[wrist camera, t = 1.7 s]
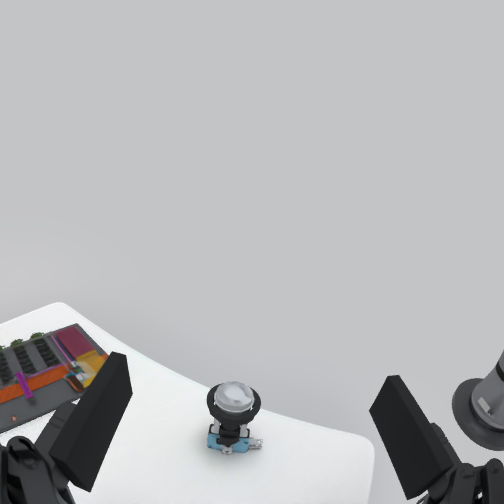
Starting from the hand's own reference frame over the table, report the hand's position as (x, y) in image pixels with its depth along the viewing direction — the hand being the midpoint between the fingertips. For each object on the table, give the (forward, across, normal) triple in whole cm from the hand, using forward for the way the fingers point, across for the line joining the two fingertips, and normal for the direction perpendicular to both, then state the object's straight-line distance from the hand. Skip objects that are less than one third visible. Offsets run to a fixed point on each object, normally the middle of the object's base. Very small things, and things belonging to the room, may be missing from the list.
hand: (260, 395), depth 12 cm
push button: (+10, 0, -20) cm, 22 cm away
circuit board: (+14, -31, -20) cm, 39 cm away
